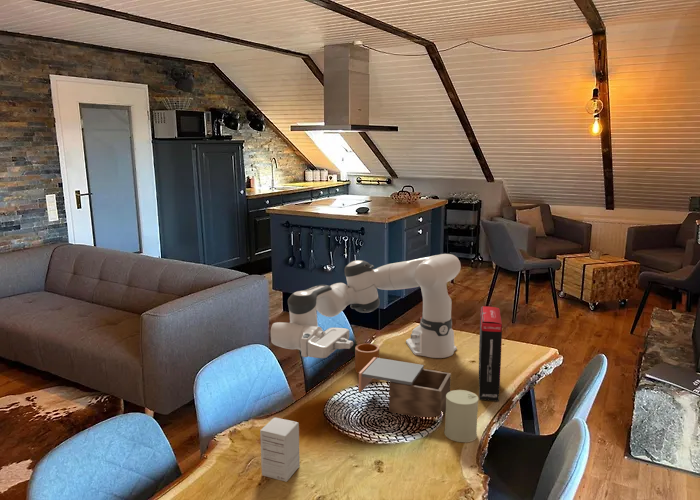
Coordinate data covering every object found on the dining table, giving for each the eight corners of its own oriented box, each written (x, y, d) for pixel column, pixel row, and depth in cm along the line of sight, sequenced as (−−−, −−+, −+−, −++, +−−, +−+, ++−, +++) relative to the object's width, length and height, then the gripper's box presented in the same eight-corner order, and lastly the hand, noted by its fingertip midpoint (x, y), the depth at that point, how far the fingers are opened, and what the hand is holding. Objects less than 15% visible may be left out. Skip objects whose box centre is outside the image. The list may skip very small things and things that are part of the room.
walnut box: (389, 412, 169) (389, 382, 167) (402, 393, 182) (403, 365, 180) (439, 422, 163) (440, 391, 161) (449, 402, 176) (451, 373, 174)
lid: (358, 391, 172) (358, 373, 171) (373, 374, 185) (374, 357, 184) (411, 401, 166) (411, 382, 165) (423, 383, 178) (423, 365, 177)
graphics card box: (499, 403, 176) (504, 322, 170) (477, 401, 177) (481, 320, 172) (496, 380, 192) (501, 306, 187) (476, 379, 193) (480, 305, 188)
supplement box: (275, 460, 144) (274, 416, 141) (300, 466, 141) (299, 421, 139) (260, 475, 137) (259, 429, 135) (286, 482, 134) (285, 435, 132)
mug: (388, 366, 204) (388, 344, 202) (370, 378, 195) (371, 354, 193) (368, 360, 209) (368, 338, 207) (350, 371, 200) (350, 348, 198)
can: (482, 440, 154) (484, 401, 151) (451, 444, 152) (453, 404, 149) (468, 424, 162) (470, 386, 160) (439, 427, 161) (441, 389, 158)
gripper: (326, 338, 193) (363, 343, 188) (299, 358, 174) (339, 365, 169) (326, 321, 192) (363, 326, 187) (299, 340, 173) (338, 346, 168)
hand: (351, 345), depth 178 cm, fingers closed
